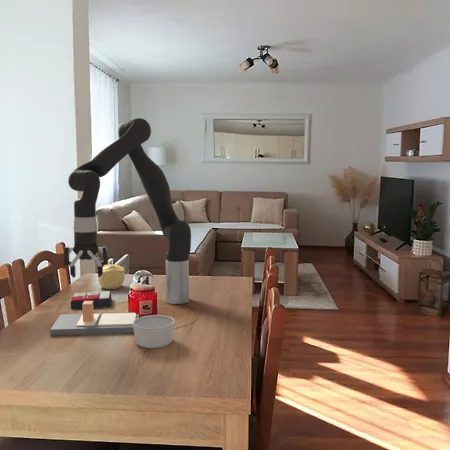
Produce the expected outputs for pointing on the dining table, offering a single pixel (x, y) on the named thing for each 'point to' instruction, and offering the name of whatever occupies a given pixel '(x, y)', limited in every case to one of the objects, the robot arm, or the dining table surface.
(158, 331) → the ramekin
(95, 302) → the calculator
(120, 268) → the yellow sugar bowl
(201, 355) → the dining table surface
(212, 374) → the dining table surface
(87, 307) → the upright wooden block
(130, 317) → the grey rectangular board
